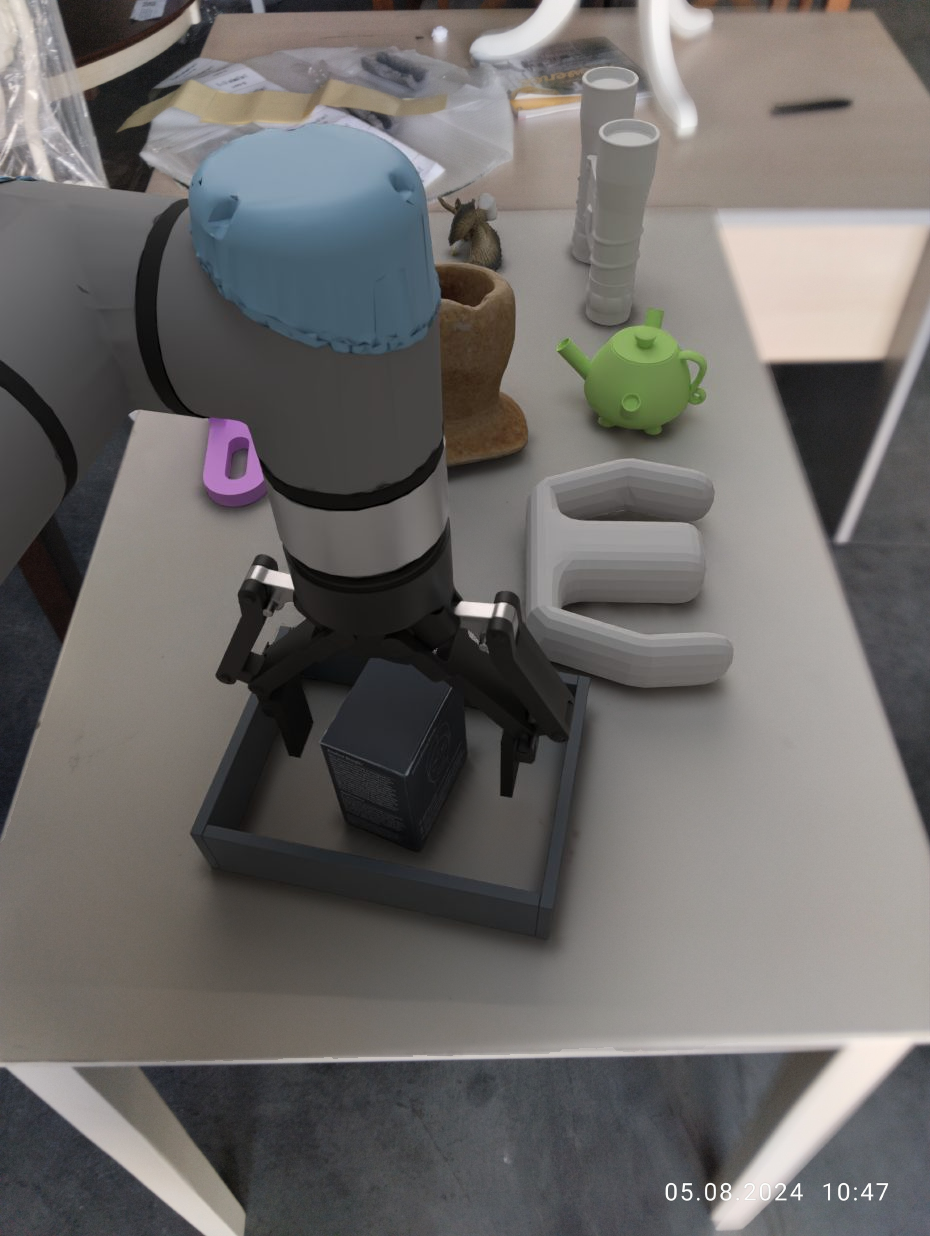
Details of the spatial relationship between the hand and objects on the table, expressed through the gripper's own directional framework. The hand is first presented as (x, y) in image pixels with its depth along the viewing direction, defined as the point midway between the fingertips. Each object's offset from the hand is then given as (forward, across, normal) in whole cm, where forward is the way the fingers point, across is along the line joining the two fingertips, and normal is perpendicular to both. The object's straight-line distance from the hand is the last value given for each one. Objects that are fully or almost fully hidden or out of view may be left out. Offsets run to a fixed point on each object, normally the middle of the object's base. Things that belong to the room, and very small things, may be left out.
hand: (404, 758), depth 56 cm
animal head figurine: (+4, +10, -66) cm, 67 cm away
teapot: (+4, -10, -42) cm, 43 cm away
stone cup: (+4, +6, -35) cm, 36 cm away
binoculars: (+4, -5, -63) cm, 63 cm away
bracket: (+4, +23, -29) cm, 37 cm away
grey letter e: (+4, -12, -20) cm, 24 cm away
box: (+4, 0, 0) cm, 4 cm away
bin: (+4, 0, 0) cm, 4 cm away
